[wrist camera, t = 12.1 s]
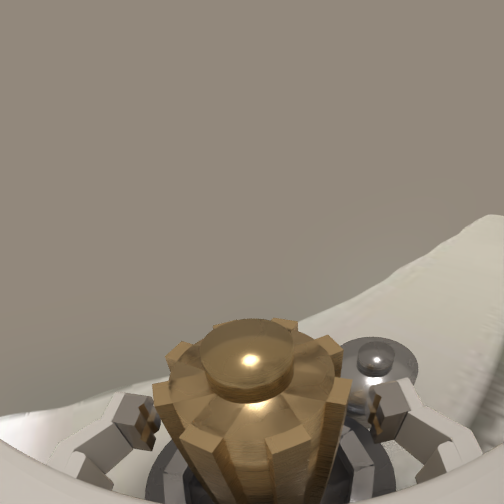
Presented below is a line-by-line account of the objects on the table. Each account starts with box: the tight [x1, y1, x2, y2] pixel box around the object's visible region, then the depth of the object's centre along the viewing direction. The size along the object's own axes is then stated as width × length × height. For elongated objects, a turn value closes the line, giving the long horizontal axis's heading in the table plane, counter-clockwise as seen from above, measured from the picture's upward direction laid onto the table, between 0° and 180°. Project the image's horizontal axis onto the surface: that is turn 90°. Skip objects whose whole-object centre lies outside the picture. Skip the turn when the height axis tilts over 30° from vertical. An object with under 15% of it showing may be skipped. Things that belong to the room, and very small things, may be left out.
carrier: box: [145, 415, 396, 504], centre depth 10 cm, size 13×13×2 cm
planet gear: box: [152, 318, 353, 504], centre depth 9 cm, size 6×6×10 cm
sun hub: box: [340, 337, 418, 428], centre depth 16 cm, size 6×6×4 cm
